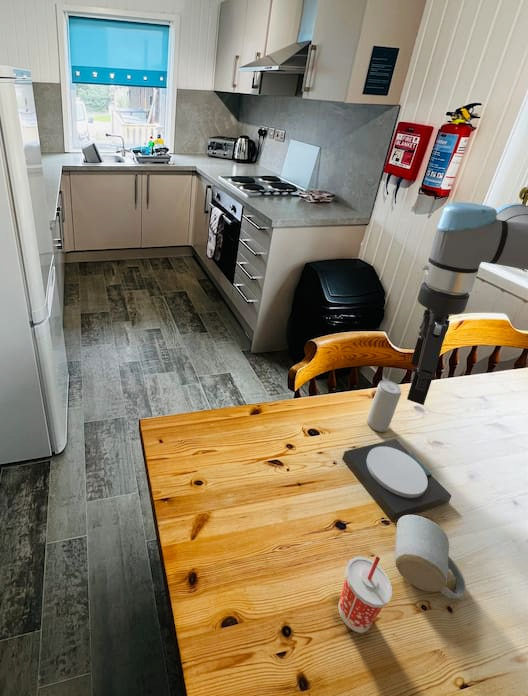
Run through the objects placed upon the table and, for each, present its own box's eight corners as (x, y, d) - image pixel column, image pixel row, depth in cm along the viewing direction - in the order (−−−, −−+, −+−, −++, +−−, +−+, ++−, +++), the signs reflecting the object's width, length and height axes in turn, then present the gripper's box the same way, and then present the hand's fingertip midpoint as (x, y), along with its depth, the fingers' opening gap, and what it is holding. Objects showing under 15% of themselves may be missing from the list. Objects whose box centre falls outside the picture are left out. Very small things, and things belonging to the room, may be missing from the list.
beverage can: (377, 415, 99) (390, 377, 94) (392, 430, 95) (407, 391, 90) (361, 419, 97) (374, 381, 92) (376, 435, 93) (390, 395, 88)
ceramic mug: (388, 575, 66) (402, 547, 63) (391, 532, 72) (404, 505, 69) (464, 618, 61) (483, 590, 58) (460, 568, 67) (477, 540, 64)
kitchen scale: (448, 503, 78) (453, 492, 77) (391, 521, 74) (396, 509, 73) (392, 446, 90) (397, 435, 89) (341, 459, 86) (345, 447, 85)
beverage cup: (384, 621, 60) (411, 566, 54) (360, 649, 57) (387, 593, 51) (348, 582, 65) (370, 527, 59) (324, 605, 61) (345, 550, 56)
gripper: (423, 263, 84) (399, 347, 92) (420, 307, 65) (390, 410, 72) (466, 271, 81) (437, 358, 88) (476, 320, 61) (439, 428, 68)
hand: (416, 382), depth 80 cm, fingers open, 13 cm apart
